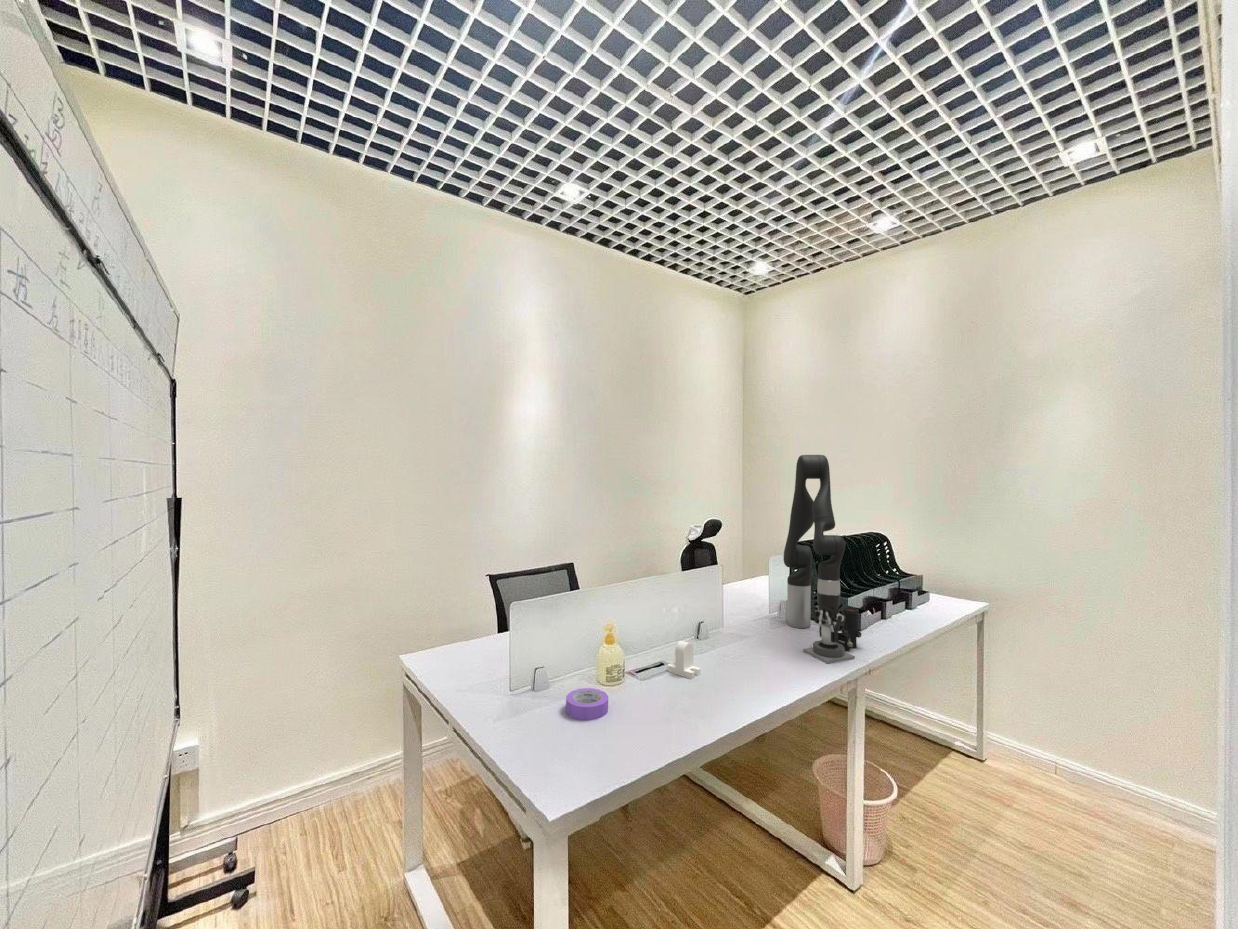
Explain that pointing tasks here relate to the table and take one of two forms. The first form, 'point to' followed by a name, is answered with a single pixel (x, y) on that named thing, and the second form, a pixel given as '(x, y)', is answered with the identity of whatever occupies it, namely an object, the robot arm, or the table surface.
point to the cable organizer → (684, 661)
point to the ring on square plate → (828, 652)
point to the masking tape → (587, 704)
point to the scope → (849, 629)
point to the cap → (826, 634)
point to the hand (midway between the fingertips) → (828, 639)
